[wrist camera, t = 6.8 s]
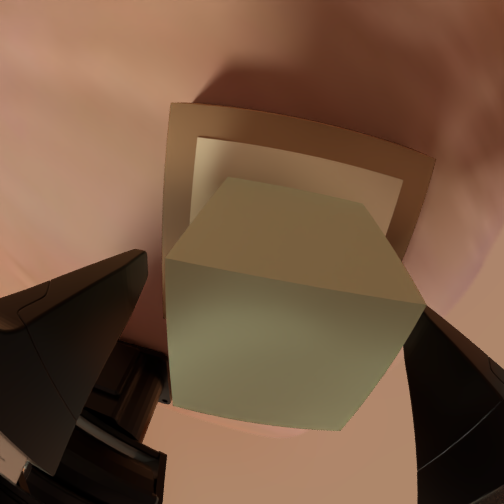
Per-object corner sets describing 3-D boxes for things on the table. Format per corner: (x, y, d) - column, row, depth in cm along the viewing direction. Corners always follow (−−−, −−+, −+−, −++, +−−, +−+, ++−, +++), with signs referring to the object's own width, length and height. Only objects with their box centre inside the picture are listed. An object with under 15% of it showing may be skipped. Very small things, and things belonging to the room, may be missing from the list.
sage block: (327, 310, 13) (340, 431, 7) (214, 289, 13) (172, 406, 7) (362, 203, 10) (426, 304, 5) (227, 176, 10) (164, 258, 5)
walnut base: (350, 321, 16) (357, 354, 14) (178, 290, 16) (162, 319, 14) (411, 148, 11) (437, 159, 9) (191, 102, 11) (169, 102, 9)
